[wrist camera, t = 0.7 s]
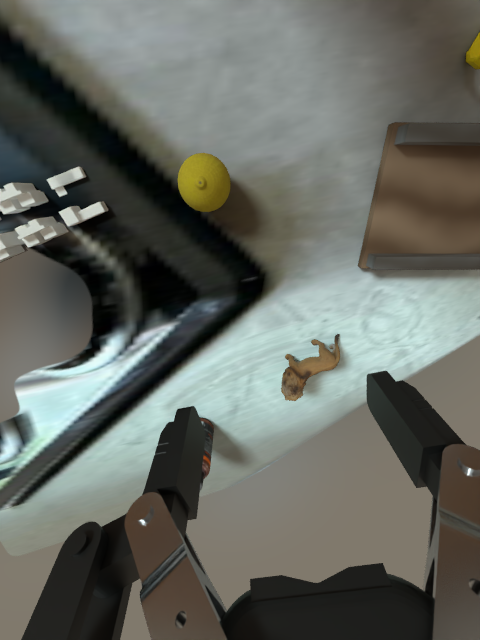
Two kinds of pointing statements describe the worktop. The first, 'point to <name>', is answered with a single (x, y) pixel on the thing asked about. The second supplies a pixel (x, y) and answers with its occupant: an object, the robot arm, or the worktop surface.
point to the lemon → (204, 182)
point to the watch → (474, 53)
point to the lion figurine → (308, 369)
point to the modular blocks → (40, 229)
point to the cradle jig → (426, 199)
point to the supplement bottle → (207, 448)
